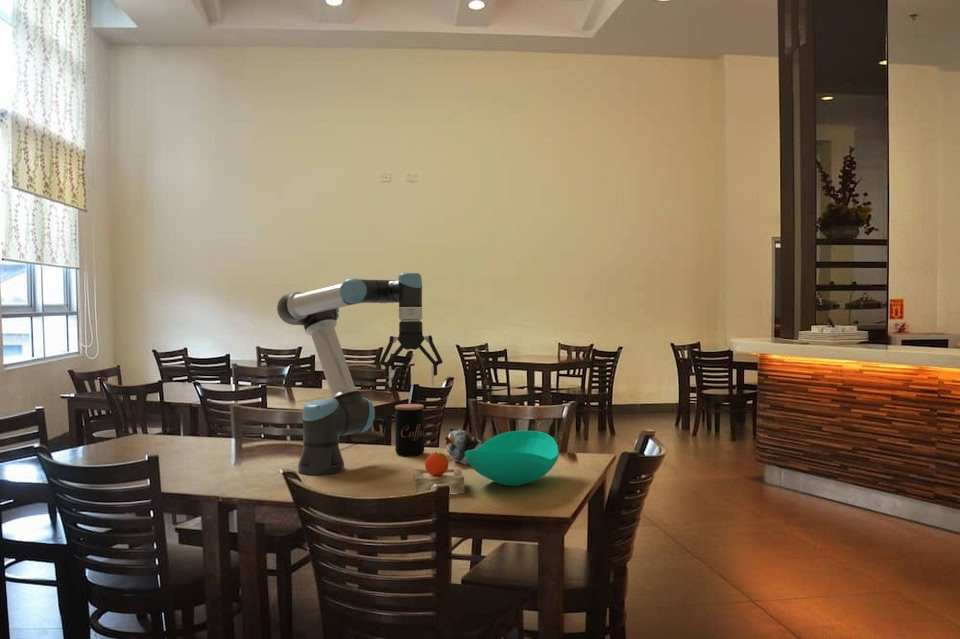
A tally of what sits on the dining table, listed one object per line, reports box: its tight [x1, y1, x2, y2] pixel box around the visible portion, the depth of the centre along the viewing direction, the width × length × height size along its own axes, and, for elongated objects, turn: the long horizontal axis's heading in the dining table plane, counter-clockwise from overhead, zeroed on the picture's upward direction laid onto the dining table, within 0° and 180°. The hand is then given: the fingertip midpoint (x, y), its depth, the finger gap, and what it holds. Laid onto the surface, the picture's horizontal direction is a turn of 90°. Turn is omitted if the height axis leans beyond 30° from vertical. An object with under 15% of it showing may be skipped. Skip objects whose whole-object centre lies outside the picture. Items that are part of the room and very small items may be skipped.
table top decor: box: [465, 430, 560, 487], centre depth 242 cm, size 40×28×13 cm
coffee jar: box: [394, 403, 425, 457], centre depth 293 cm, size 11×11×18 cm
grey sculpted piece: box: [444, 428, 485, 467], centre depth 275 cm, size 15×12×14 cm
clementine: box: [424, 451, 452, 476], centre depth 235 cm, size 8×7×7 cm
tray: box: [413, 467, 465, 494], centre depth 235 cm, size 14×14×5 cm
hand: (411, 386), depth 256 cm, fingers open, 13 cm apart
